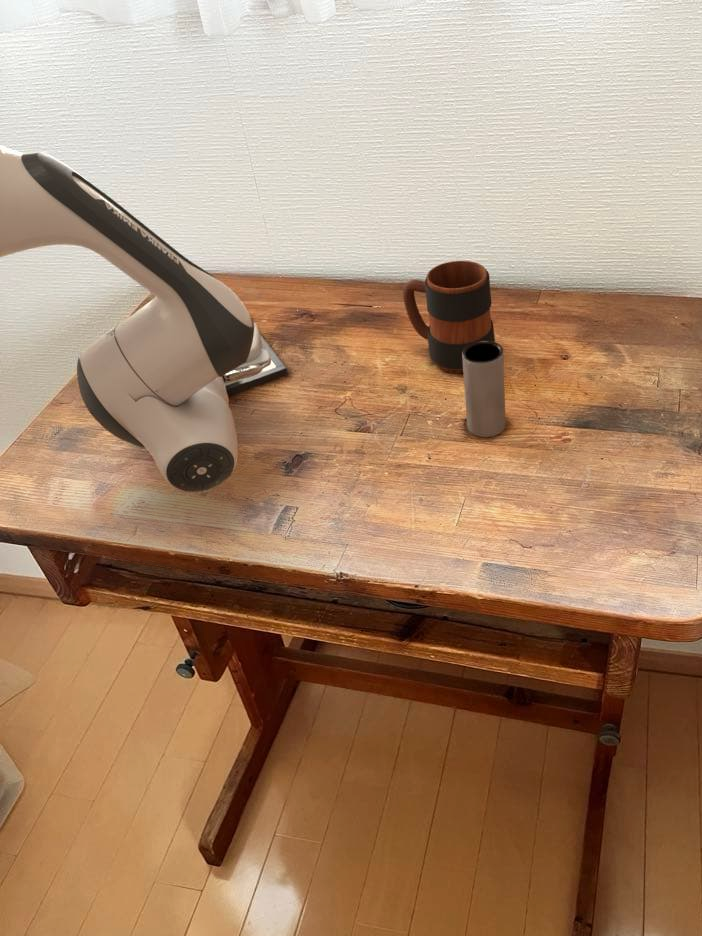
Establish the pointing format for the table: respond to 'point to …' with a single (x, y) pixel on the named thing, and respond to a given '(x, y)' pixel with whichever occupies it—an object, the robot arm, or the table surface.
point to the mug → (452, 310)
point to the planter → (484, 388)
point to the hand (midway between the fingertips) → (175, 332)
